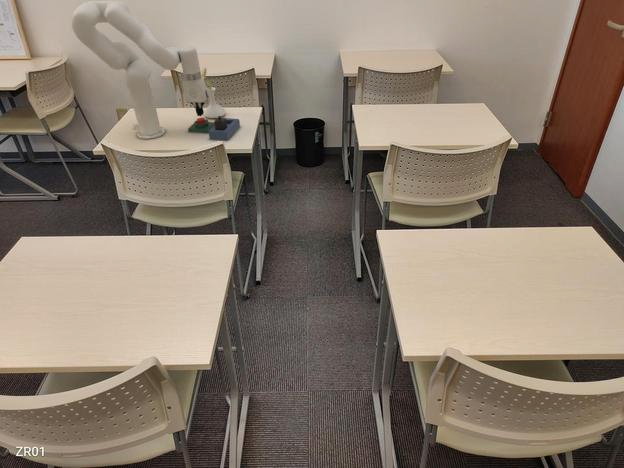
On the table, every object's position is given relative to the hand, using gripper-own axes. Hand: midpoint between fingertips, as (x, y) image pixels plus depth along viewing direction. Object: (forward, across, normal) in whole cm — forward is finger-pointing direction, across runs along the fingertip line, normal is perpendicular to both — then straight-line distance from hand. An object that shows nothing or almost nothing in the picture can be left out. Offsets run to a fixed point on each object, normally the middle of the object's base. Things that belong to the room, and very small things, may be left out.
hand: (200, 115), depth 225 cm
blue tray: (+7, +13, -3) cm, 15 cm away
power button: (+4, 0, 0) cm, 4 cm away
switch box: (+7, 0, 0) cm, 7 cm away
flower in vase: (+7, 0, +15) cm, 17 cm away
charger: (+7, +13, -7) cm, 16 cm away
